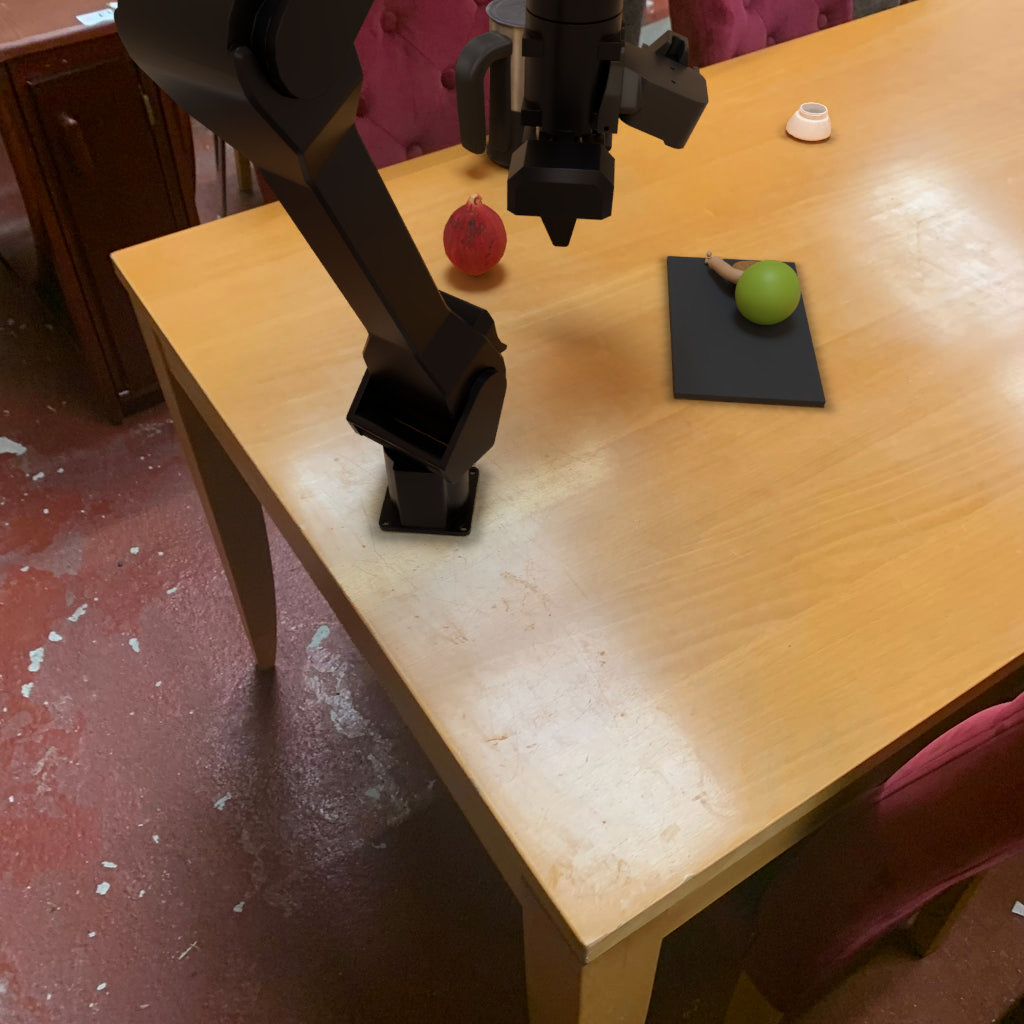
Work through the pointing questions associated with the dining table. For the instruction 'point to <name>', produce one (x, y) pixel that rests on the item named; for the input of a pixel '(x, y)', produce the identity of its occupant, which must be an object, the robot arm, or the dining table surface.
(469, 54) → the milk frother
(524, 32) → the robot arm
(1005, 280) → the dining table surface
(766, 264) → the snail figurine
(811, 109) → the lidless jar
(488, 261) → the onion
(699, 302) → the mat
